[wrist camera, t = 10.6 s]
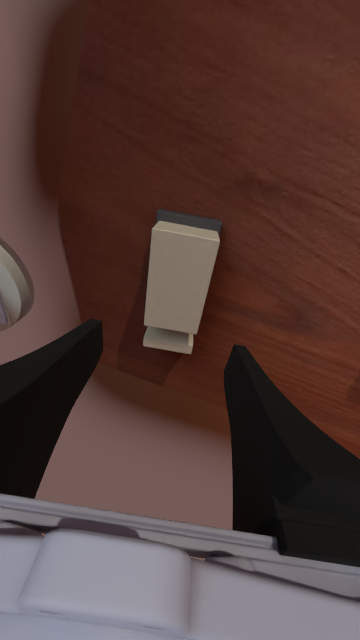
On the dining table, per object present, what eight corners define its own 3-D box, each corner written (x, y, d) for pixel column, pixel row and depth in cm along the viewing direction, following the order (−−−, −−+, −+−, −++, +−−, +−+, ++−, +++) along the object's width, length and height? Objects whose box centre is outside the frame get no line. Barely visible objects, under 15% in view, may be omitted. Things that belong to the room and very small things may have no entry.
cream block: (193, 333, 23) (192, 360, 20) (148, 325, 23) (139, 351, 20) (221, 220, 17) (226, 231, 14) (159, 208, 17) (149, 217, 14)
